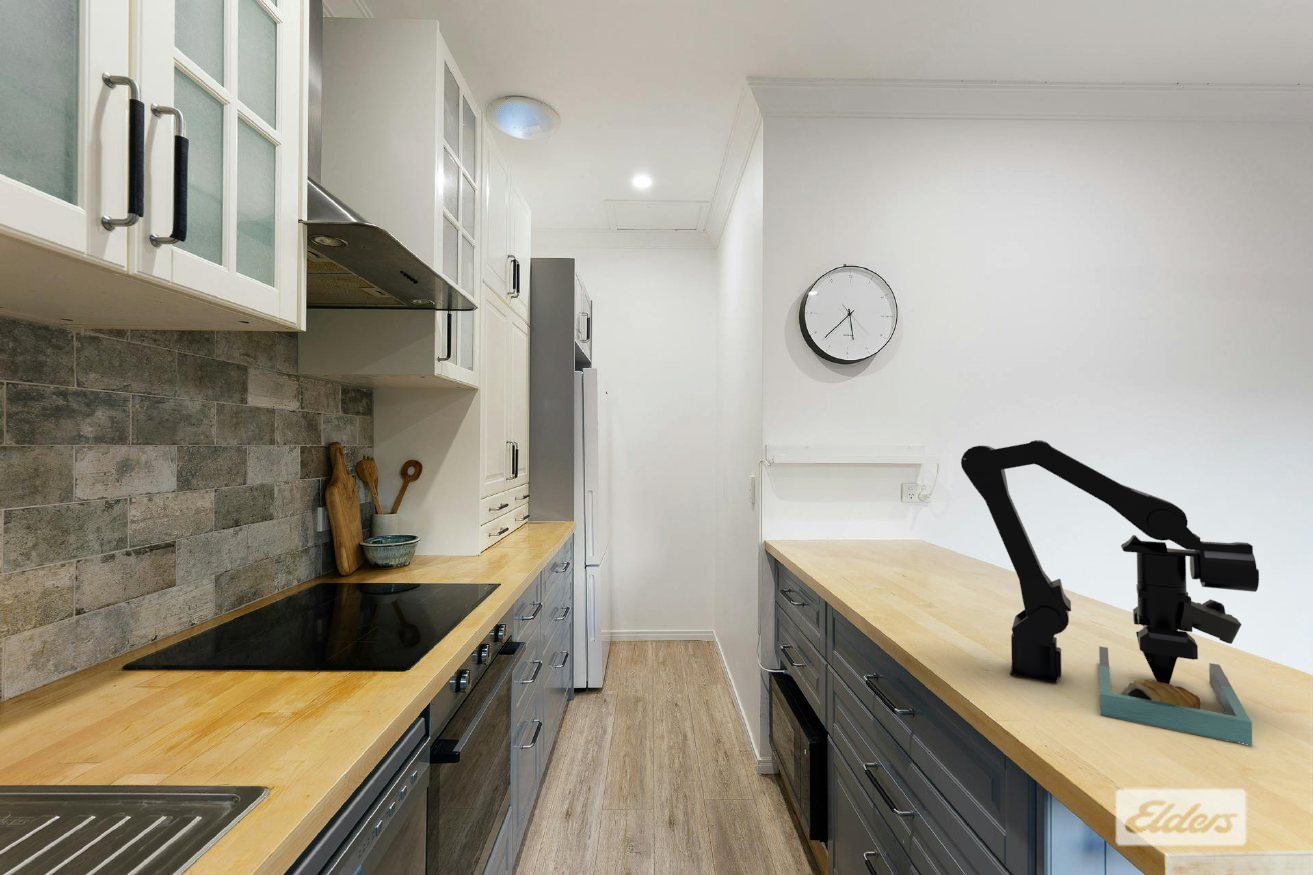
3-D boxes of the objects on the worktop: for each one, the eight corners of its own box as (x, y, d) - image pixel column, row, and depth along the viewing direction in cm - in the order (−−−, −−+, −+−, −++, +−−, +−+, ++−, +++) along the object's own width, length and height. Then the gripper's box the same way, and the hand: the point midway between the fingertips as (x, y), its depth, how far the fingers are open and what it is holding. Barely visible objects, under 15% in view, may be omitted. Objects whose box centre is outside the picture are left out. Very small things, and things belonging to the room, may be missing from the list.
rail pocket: (1100, 714, 85) (1100, 693, 85) (1099, 663, 105) (1099, 646, 105) (1252, 746, 76) (1251, 722, 76) (1219, 683, 96) (1219, 664, 96)
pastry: (1170, 696, 92) (1170, 671, 92) (1218, 716, 85) (1217, 689, 85) (1116, 701, 90) (1116, 675, 90) (1161, 722, 84) (1160, 694, 84)
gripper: (1247, 604, 79) (1250, 724, 79) (1222, 577, 94) (1225, 678, 94) (1139, 593, 85) (1141, 703, 85) (1132, 569, 101) (1134, 663, 100)
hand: (1163, 686), depth 91 cm, fingers closed
